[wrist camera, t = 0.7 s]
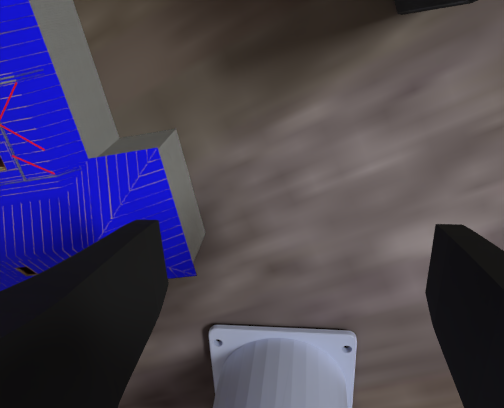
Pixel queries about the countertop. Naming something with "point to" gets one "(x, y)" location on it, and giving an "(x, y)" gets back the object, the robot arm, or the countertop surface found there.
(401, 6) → the ammunition clip
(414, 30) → the countertop surface
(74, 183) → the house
